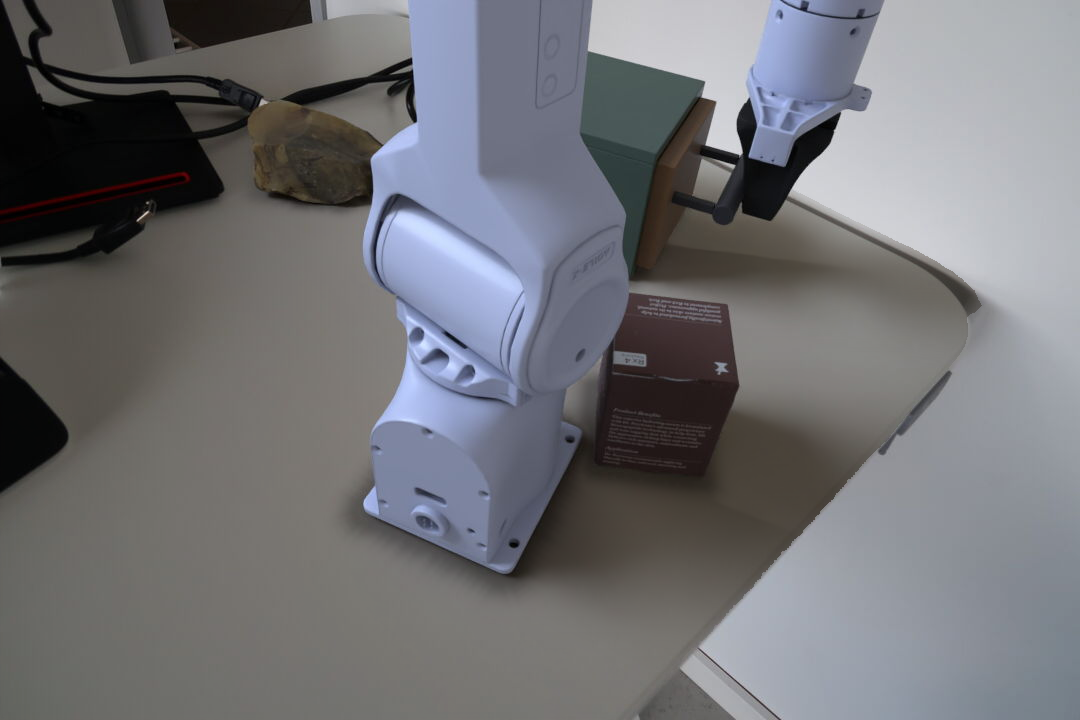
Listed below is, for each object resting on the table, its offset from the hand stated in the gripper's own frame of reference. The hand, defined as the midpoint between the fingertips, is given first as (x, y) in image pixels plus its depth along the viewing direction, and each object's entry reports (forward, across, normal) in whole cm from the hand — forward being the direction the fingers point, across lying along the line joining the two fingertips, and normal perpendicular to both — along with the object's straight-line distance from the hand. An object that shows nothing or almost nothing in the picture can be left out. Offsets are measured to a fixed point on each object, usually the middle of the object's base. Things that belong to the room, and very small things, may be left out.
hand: (758, 212), depth 49 cm
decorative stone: (+4, -6, +32) cm, 33 cm away
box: (+4, -18, +1) cm, 19 cm away
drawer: (+3, 0, +10) cm, 10 cm away
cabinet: (+4, 0, +13) cm, 14 cm away
